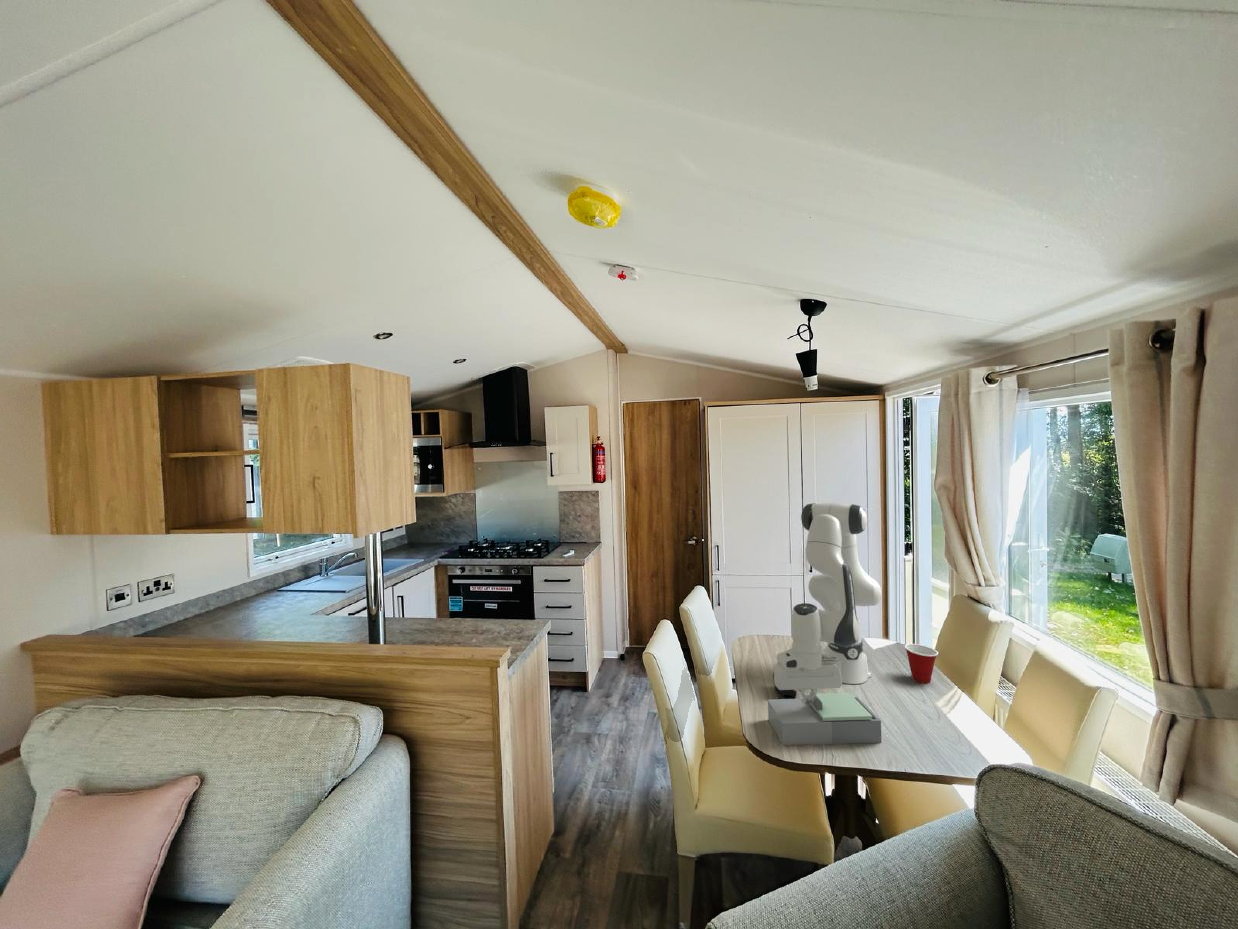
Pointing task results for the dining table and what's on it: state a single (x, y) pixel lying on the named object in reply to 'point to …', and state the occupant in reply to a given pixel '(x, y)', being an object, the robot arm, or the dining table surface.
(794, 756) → the dining table surface
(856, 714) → the lid
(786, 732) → the box
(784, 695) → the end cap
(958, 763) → the dining table surface
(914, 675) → the plastic cup
